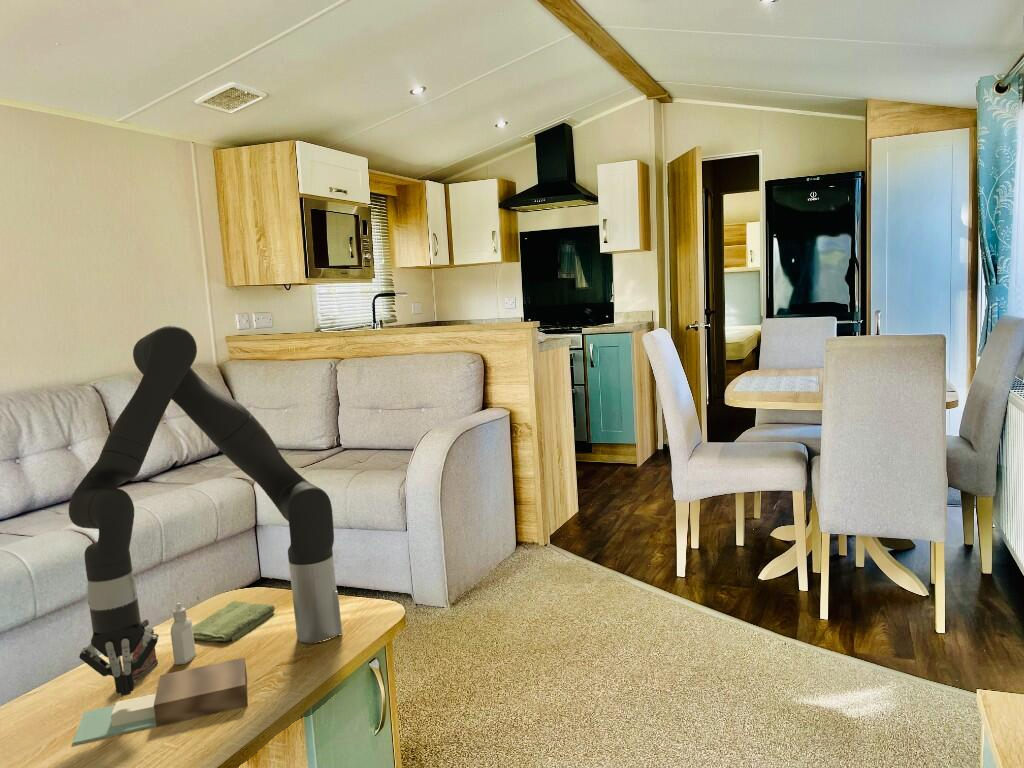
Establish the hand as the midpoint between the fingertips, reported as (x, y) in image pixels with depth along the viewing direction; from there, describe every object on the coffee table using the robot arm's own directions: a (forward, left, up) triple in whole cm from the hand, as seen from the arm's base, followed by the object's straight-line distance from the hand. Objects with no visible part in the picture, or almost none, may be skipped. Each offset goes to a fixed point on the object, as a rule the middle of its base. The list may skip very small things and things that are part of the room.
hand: (126, 693), depth 136 cm
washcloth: (-17, -34, -5) cm, 39 cm away
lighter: (0, -19, -5) cm, 20 cm away
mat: (+1, 0, -4) cm, 5 cm away
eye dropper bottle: (-8, -21, -5) cm, 23 cm away
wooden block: (-13, 0, -4) cm, 13 cm away
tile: (-1, 0, -4) cm, 4 cm away
